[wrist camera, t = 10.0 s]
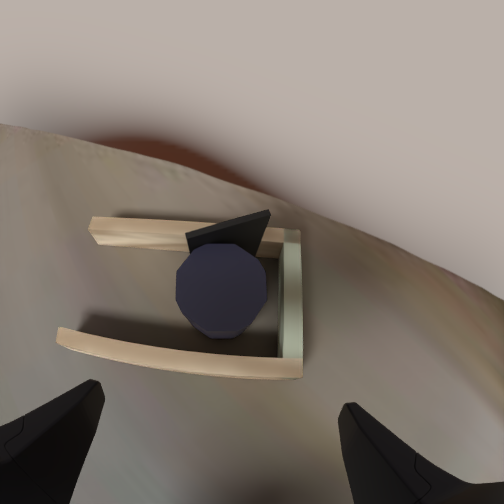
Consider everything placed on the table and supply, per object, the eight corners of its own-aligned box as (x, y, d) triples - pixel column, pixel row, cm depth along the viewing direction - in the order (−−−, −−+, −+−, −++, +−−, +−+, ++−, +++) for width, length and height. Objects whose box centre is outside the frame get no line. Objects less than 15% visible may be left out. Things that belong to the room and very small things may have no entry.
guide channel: (294, 379, 21) (302, 377, 19) (72, 349, 21) (55, 342, 18) (293, 246, 28) (299, 229, 25) (102, 232, 27) (92, 216, 25)
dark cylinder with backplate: (190, 261, 26) (177, 199, 17) (251, 264, 27) (270, 203, 17) (186, 342, 23) (164, 324, 14) (251, 344, 24) (275, 327, 14)
